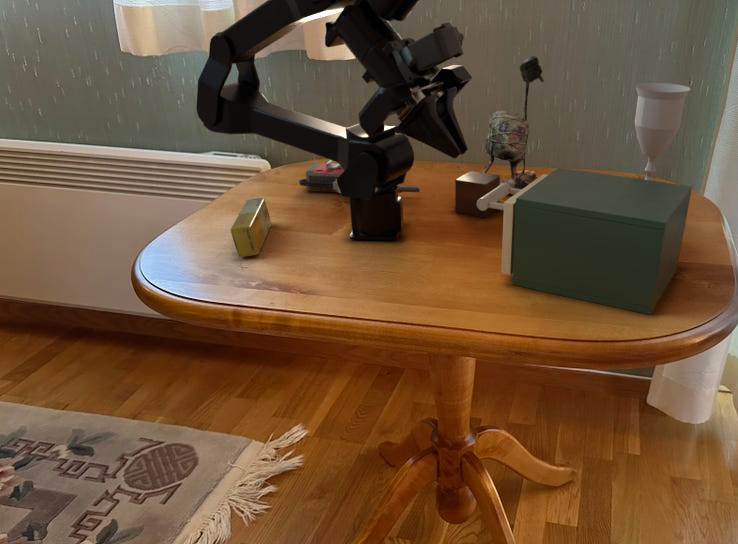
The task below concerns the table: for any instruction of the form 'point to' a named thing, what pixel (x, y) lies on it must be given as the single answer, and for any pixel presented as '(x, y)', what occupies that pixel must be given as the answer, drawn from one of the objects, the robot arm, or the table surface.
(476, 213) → the block
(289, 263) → the table surface
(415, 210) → the table surface
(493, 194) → the drawer
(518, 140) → the bird figurine
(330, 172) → the walkie-talkie
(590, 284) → the cabinet
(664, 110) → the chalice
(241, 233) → the medication box
